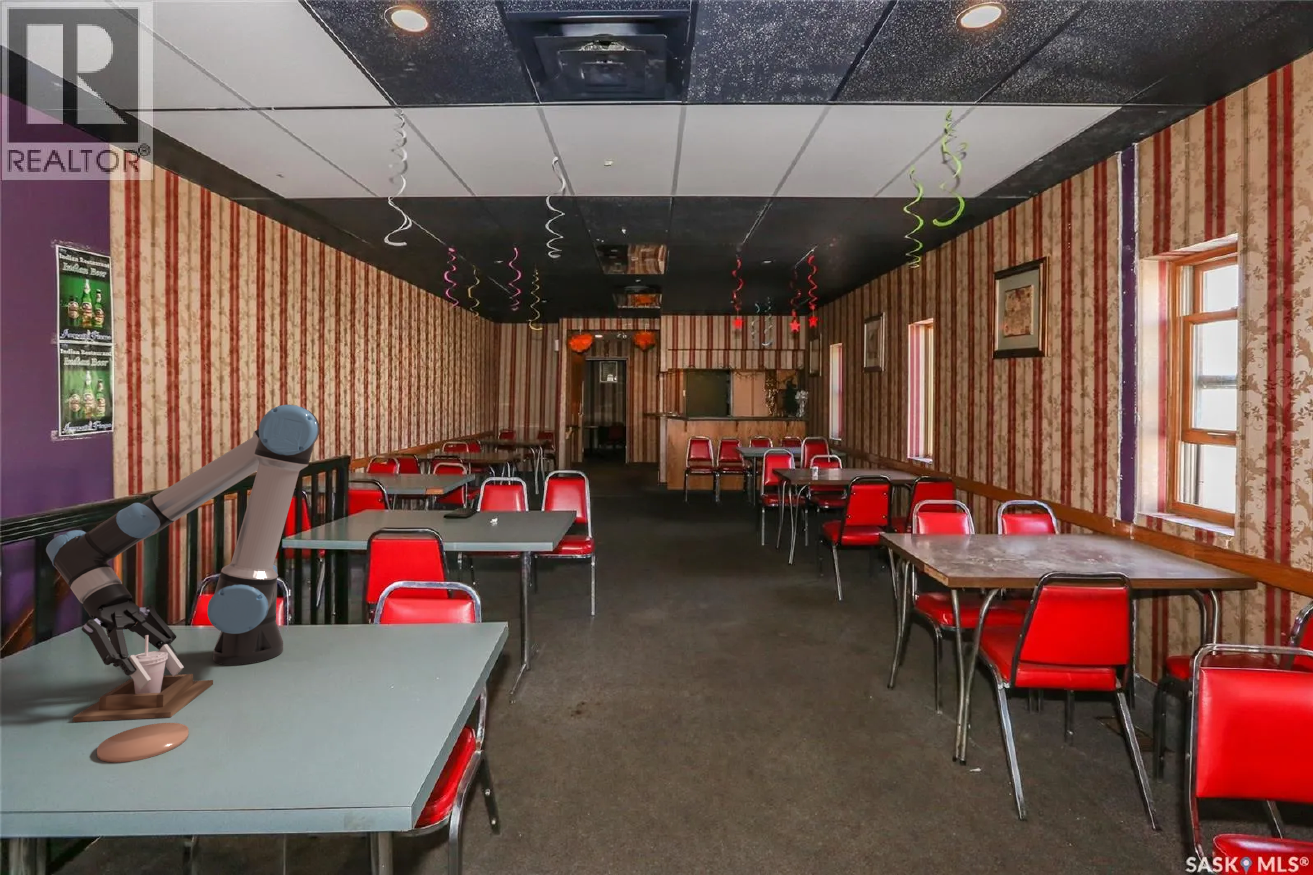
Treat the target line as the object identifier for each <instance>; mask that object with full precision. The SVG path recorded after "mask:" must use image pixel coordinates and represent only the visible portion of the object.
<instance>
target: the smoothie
mask: <svg viewBox="0 0 1313 875" xmlns="http://www.w3.org/2000/svg"><path fill="white" fill-rule="evenodd" d="M148 636H149V635H145V639H144V652H142V653H138V654H136V655H135V654H134V656H135V657H136V658H137V660H138V661H139V663H140V664H141V665H142V667H143V668H144V670H145V671H146V673H147V674H148V675H149V677H150V678H151V680H150V681H149V683H148V684H147V685H146V686H145V687H144V688H142V689H139V687H138V686H137V684H136V683H135V681H134V687H135V694H142V693H160V692H161V686H162V680H163V675H165V669H166V666H165V663H166V660H167V659H168V653H167V652H164V651H159V650H156V651H155V650H154V651H149V642H148Z"/></svg>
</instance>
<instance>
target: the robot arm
mask: <svg viewBox="0 0 1313 875" xmlns="http://www.w3.org/2000/svg"><path fill="white" fill-rule="evenodd" d="M320 432H321V429H320V423H319V420H318V418H317V417H316V416H315V414H313V412H312V411H309V410H308V409H306V408H305V407H302V406H299V405H297V404H295V405H294V404H283V405H277V406H276V407H273V408H272V409H270V410H269V411H268V412H266V413H265V414H264V415H263V417H262V418H261V420H260V422H259V426H258V428H257V429H256V430H254V431H253V434H252V437H250V438H249V439H247V440H246V441H244V442H242V443H241V444H239V445H237V446H235V447H234V448H232V449H230V450H229V451H227V452H225V453H224V454H222V455H221V456H218V457H217V458H215V459H214V460H212V461H211V462H208V463H207V464H206V465H204V466H202V467H200V468H199V469H197V470H196V471H194V472H192V473H190V474H188V475H186V477H184V478H182V479H181V480H179V481H177V482H175V483H174V484H172V485H171V486H169V487H167V488H166V489H163V490H162V491H161V492H159V493H157V494H156V495H154V496H152V497H150V498H149V499H147V500H144V501H143V502H142V503H141V502H134V503H132V504H130V505H129V506H127V507H124V508H123V509H121V510H119V511H118V512H117V513H115V514H113V515H112V516H111V517H109V518H107V520H104V521H103V522H102V523H100V524H98V525H97V526H96V527H94V528H92V529H91V530H89V531H87V532H86V531H84V530H80V529H78V530H77V529H75V530H69V531H66V532H65V533H64V534H59V535H57V536H56V537H54V538H52V540H50V542H48V544H47V545H46V548H45V552H46V554H47V556H48V558H49V560H50V561H51V563H52V566H53V567H54V568H55V569H56V570H57V572H58V573H59V574H60V576H61V577H62V578H63V580H64V581H65V583H66V584H67V585H68V587H69V588H70V590H71V591H72V593H73V594H74V595H75V597H76V598H77V600H78V601H79V603H80V604H82V608H84V610H85V612H86V613H87V614H88V616H89V617H90V618H91V619H89V620H87V622H86V623H84V625H83V626H82V627H81V631H82V632H83V633H85V634H86V636H88V637H89V639H90V641H91V642H92V644H93V646H94V648H95V650H96V651H97V654H98V655H99V657H100V658H101V661H102V662H103V664H104V665H105V666H110V665H111V664H112V666H113V667H115V668H118V667H120V668H121V670H122V671H123V673H124V674H125V675H126V676H129V677H131V678H132V679H133V680H134V681H135V683H136V684H137V686H138V687H139V689H142V688H144V687H145V686H146V685H147V684H148V683H149V681H150V680H151V678H150V677H149V675H148V674H147V673H146V671H145V670H144V668H143V667H142V665H141V664H140V663H139V661H138V660H137V658H136V657H135V654H132V655H129V650H128V646H127V642H126V638H125V633H124V630H128V631H130V632H131V633H136V634H137V635H138V636H140V637H141V638H143V640H145V635H149V636H148V644H150V645H152V646H153V647H154V648H156V649H157V651H164V652H167V653H168V659H167V660H166V663H165V668H166V669H167V670H168V672H169V673H170V675H172V676H176V675H179V673H180V672H181V671H183V669H184V668H185V667H184V665H183V664H182V662H181V661H180V660H179V659H178V653H177V651H176V650H175V649H174V648H173V646H172V643H173V642H174V641H175V639H177V635H176V633H175V632H174V631H173V630H172V629H171V628H170V626H168V624H167V623H166V622H165V621H164V619H162V618H161V616H160V615H159V614H158V613H157V611H156V609H155V605H153V604H152V603H151V604H148V605H147V606H145V607H143V606H142V607H140V606H139V605H137V604H136V603H135V602H133V596H132V594H131V593H130V591H129V590H128V589H127V587H126V585H124V584H123V581H122V580H121V579H120V578H119V576H118V574H117V573H116V572H115V571H114V569H113V567H112V566H111V565H110V564H109V562H110V561H111V560H113V559H115V558H116V557H117V556H119V555H120V554H122V553H124V552H125V551H126V550H129V549H130V548H132V547H133V546H134V545H136V544H138V543H140V542H141V541H144V540H145V539H148V538H150V537H152V536H154V535H156V534H158V533H160V532H161V531H162V530H164V529H165V528H166V527H168V526H169V525H171V524H174V522H176V521H177V520H179V519H180V518H182V517H184V516H185V515H187V514H189V513H191V512H192V511H194V510H195V509H197V508H199V507H200V506H202V505H203V504H205V503H206V502H208V501H209V500H211V499H213V498H215V497H216V496H218V495H220V494H221V493H223V492H224V491H226V490H228V489H230V488H231V487H233V486H235V485H236V484H238V483H239V482H241V481H243V480H244V479H246V478H248V476H251V475H252V474H254V473H255V472H256V473H255V474H256V475H255V478H254V482H253V486H252V489H251V491H250V495H249V500H248V501H247V502H248V503H247V506H246V509H245V512H244V516H243V520H242V524H241V527H240V531H239V535H238V538H237V541H236V545H235V548H234V551H233V556H232V559H231V562H230V563H229V564H227V565H225V566H223V567H222V568H221V571H220V574H219V576H218V581H217V583H216V587H215V591H214V594H212V597H211V598H210V599H209V600H208V603H207V611H206V613H207V617H208V620H209V622H210V624H211V625H212V626H213V627H214V628H215V629H217V630H218V631H220V633H219V635H218V639H217V640H216V643H215V646H214V648H213V653H212V655H213V656H212V657H213V658H212V661H213V663H216V664H219V665H224V666H226V665H228V666H235V665H236V666H237V665H249V664H254V663H260V662H264V661H266V660H270V659H273V658H276V657H277V656H280V655H281V654H282V653H283V651H284V640H283V636H282V635H281V632H280V629H279V626H278V624H277V597H278V596H277V594H278V591H277V589H278V577H279V574H278V567H277V565H275V564H274V563H275V561H276V557H277V553H278V550H279V547H280V542H281V538H282V536H283V535H282V534H283V533H284V529H285V524H286V521H287V517H288V513H289V510H290V507H291V502H292V499H293V496H294V493H295V488H296V485H297V481H298V477H299V476H300V471H301V470H304V469H305V468H307V467H308V466H309V464H310V461H311V457H312V453H313V451H314V450H313V449H314V446H315V443H316V441H318V438H319V436H320ZM105 631H106V632H105Z"/></svg>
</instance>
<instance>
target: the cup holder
mask: <svg viewBox="0 0 1313 875" xmlns="http://www.w3.org/2000/svg"><path fill="white" fill-rule="evenodd" d="M213 685H214V679H207V680H206V679H204V680H194V674H193V673H187V674H186V673H184V674H177V675H176V676H172V674H163V680H162V686H161V692H160V693H142V694H135V687H134V680H133V679H132V677H131V678H130V679H128V680H126V681H125V682H123V683H121V684H119V685H118V686H116V687H114V688H112V689H110V690H109V691H108V692H106V693H105V694H102V695H101V696H100V697H99V699H98V701H96V702H95V703H93V704H92V705H90V706H88V707H87V708H86V709H85V708H84V710H82V711H80V712H79V713H77V714H75V715H74V716H72V723H81V722H84V723H85V722H100V721H102V722H103V720H105V721H117V720H118V721H122V720H141V719H162V718H172V717H173V716H174V715H175V714H177V713H178V712H179V711H181V710H182V709H183V708H185V707H186V706H187V705H188V704H189V703H191V702H192V701H194V700H195V699H197V698H198V697H199V696H201V695H202V694H203V693H204V692H205V691H207V690H208V689H209V688H210V687H212V686H213Z"/></svg>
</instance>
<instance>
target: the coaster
mask: <svg viewBox="0 0 1313 875" xmlns="http://www.w3.org/2000/svg"><path fill="white" fill-rule="evenodd" d="M189 730H190V729H189V727H188V726H187V725H185V724H183V723H177V722H159V723H152V724H147V725H141V726H137V727H134V728H130V729H126V730H124V731H121V732H119V733H116V734H114V735H112V736H110V737H108V738H106V739H105V740H103V741H102V742H101V743H100V744H98V746H97V749H96V757H97V759H98V760H100V761H102V762H106V763H128V762H129V763H130V762H134V761H135V762H136V761H141V760H146V759H149V758H152V757H156V756H159V755H162V754H164V753H167V752H169V751H172V750H174V749H176V748H177V747H180V746H181V745H182V744H183V743H185V742H186V741H187V739H188V738H189V735H190V734H189Z"/></svg>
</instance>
